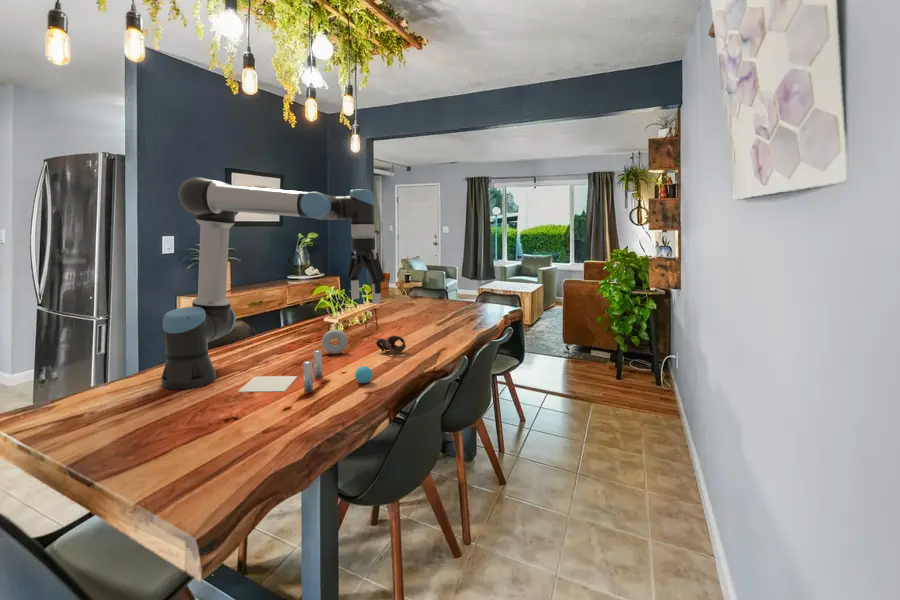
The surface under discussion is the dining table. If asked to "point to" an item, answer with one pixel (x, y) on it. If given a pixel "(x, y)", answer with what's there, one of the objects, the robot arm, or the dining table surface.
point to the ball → (363, 374)
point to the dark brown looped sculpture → (391, 344)
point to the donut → (330, 335)
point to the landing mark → (268, 384)
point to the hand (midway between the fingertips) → (365, 301)
